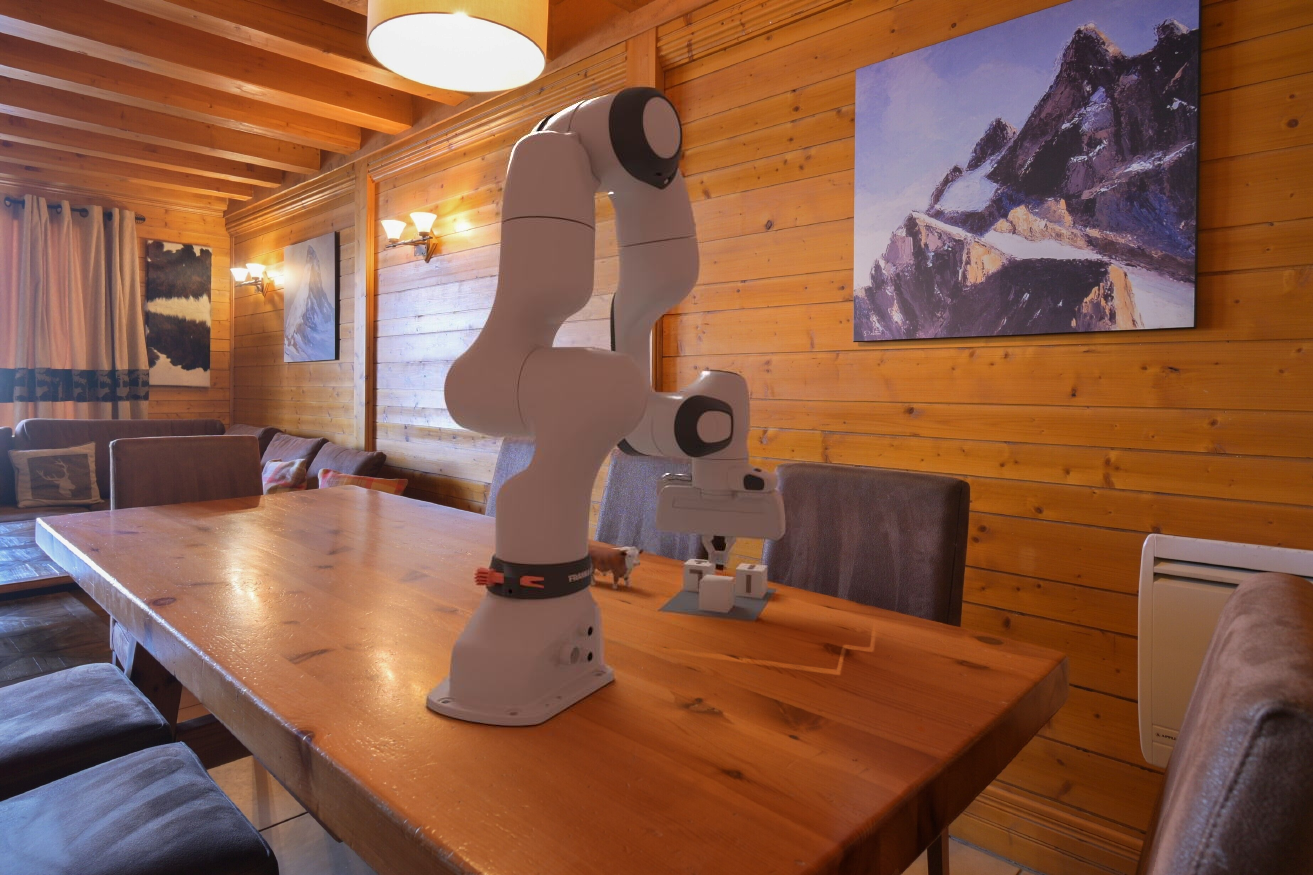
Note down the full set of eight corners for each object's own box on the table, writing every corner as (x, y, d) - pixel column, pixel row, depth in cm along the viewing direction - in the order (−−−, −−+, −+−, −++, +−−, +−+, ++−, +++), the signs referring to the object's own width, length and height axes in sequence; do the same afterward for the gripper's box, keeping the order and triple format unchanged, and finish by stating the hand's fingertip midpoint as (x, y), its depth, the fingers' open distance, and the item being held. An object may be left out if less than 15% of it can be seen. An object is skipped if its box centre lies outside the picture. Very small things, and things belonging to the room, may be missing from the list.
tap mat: (754, 625, 108) (754, 621, 108) (657, 614, 113) (657, 610, 113) (776, 591, 127) (776, 588, 127) (692, 583, 132) (692, 580, 132)
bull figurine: (634, 598, 122) (635, 550, 121) (574, 585, 130) (575, 539, 129) (650, 593, 125) (651, 546, 125) (591, 580, 133) (592, 535, 133)
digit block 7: (708, 593, 124) (709, 565, 123) (682, 590, 125) (683, 563, 125) (715, 586, 128) (715, 560, 128) (690, 583, 129) (690, 557, 129)
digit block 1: (761, 598, 121) (762, 570, 120) (734, 595, 122) (735, 568, 122) (766, 591, 125) (767, 564, 125) (740, 589, 127) (741, 562, 126)
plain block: (727, 612, 112) (727, 583, 112) (698, 609, 114) (699, 580, 114) (733, 605, 117) (734, 577, 116) (706, 602, 118) (706, 574, 118)
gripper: (650, 474, 115) (649, 562, 116) (782, 481, 108) (779, 574, 109) (662, 470, 120) (661, 553, 121) (788, 476, 114) (786, 564, 115)
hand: (718, 563), depth 115 cm, fingers closed
